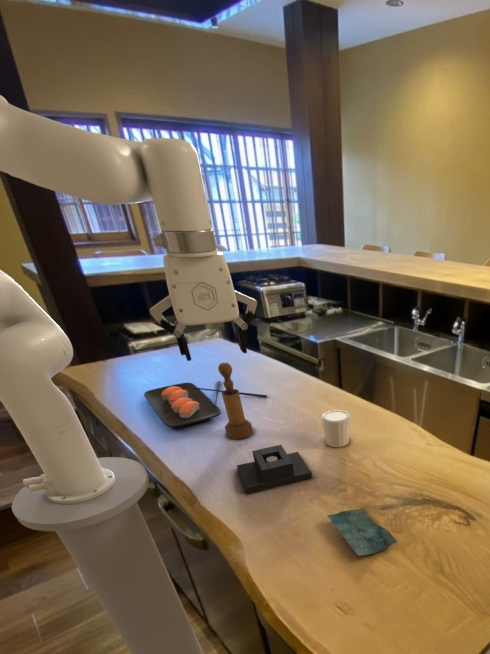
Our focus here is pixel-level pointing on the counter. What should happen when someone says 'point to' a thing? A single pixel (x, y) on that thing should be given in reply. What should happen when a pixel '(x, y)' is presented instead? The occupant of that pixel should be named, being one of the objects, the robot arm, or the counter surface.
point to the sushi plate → (184, 404)
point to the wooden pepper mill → (233, 407)
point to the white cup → (336, 427)
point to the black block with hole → (273, 463)
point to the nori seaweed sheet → (362, 532)
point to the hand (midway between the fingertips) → (216, 354)
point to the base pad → (256, 483)
